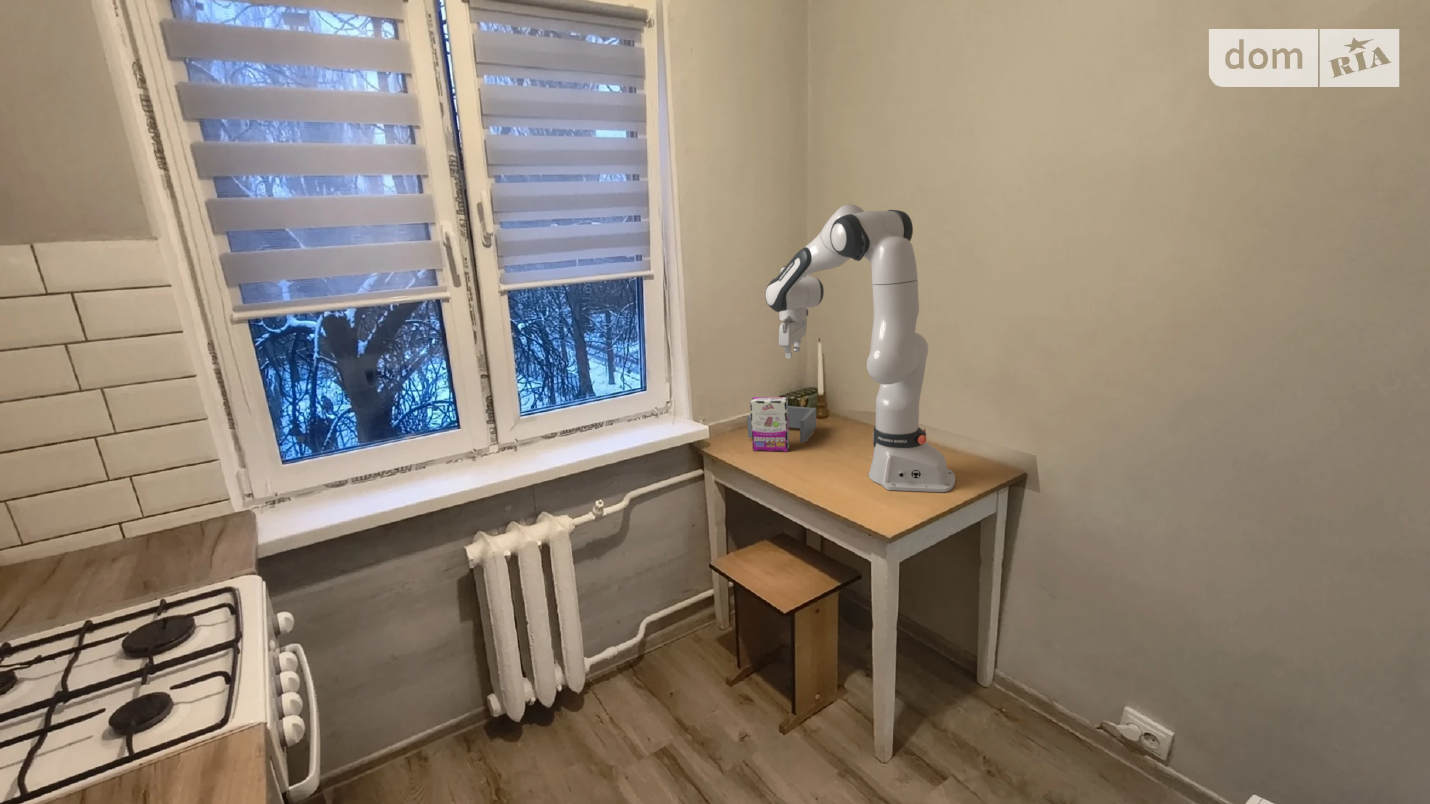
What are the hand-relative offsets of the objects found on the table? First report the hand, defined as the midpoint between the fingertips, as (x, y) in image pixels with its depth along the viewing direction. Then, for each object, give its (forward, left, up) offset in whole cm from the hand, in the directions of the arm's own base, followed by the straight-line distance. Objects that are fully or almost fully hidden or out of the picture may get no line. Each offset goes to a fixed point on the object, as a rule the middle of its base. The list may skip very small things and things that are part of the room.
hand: (792, 354), depth 215 cm
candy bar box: (0, +26, -25) cm, 36 cm away
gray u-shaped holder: (0, +14, -24) cm, 28 cm away
